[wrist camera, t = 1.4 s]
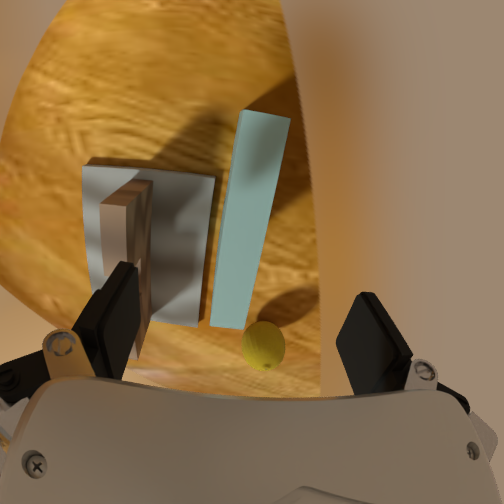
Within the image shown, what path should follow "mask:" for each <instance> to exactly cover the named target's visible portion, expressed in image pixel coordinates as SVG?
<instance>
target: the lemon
mask: <svg viewBox="0 0 504 504" xmlns="http://www.w3.org/2000/svg"><path fill="white" fill-rule="evenodd" d="M242 352H243V355H244V358H245V360H246V362H247V363H248V364H249V365H250V366H251V367H252V368H254V369H256V370H259V371H269V370H272V369H274V368H276V367H277V366H278V365H279V364H280V363H281V362H282V360H283V357H284V354H285V340H284V337H283V334H282V332H281V330H280V329H279V328H278V327H277V326H276V325H274V324H273V323H271V322H268V321H259V322H255V323H253V324H251V325H250V326H249V327H248V328H247V329H246V330H245V332H244V334H243V337H242Z"/></svg>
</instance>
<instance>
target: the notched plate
mask: <svg viewBox="0 0 504 504" xmlns="http://www.w3.org/2000/svg"><path fill="white" fill-rule="evenodd" d="M290 120H291V118H286V117H282V116H277V115H272V114H267V113H262V112H256V111H250V110H245V109H244V110H242V111H241V112H240V114H239V120H238V125H237V131H236V136H235V142H234V147H233V153H232V159H231V168H230V173H229V179H228V186H227V192H226V198H225V201H224V207H223V214H222V220H221V227H220V234H219V241H218V250H217V258H216V268H215V277H214V287H213V297H212V307H211V318H210V326H216V327H224V328H234V329H243V330H244V326H245V322H246V318H247V313H248V309H249V305H250V300H251V296H252V292H253V287H254V283H255V279H256V274H257V270H258V265H259V261H260V257H261V252H262V248H263V243H264V239H265V234H266V230H267V226H268V221H269V217H270V212H271V208H272V203H273V199H274V194H275V190H276V185H277V180H278V176H279V171H280V167H281V162H282V158H283V153H284V148H285V144H286V139H287V134H288V130H289V125H290Z"/></svg>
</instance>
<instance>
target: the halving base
mask: <svg viewBox="0 0 504 504" xmlns="http://www.w3.org/2000/svg"><path fill="white" fill-rule="evenodd" d="M215 178H216V176H210V175H203V174H195V173H187V172H178V171H169V170H159V169H149V168H137V167H125V166H110V165H92V164H86V165H84V166H82V199H83V219H84V233H85V243H86V253H87V261H88V269H89V275H90V282H91V288H92V294H94V292H95V291H96V290H97V289H101V288H102V287H103V285H104V284H105V282H106V281H107V279H108V278H109V276H110V275H111V273H112V272H113V270H114V269H115V267H116V266H117V264H118V263H119V262H120V261H125V262H131V263H134V267H138V275H139V297H140V312H141V323H140V327H139V330H138V333H137V335H136V338H135V341H134V344H133V347H132V349H131V352H130V355H129V359H134V360H138V358H139V355H140V351H141V348H142V345H143V341H144V338H145V335H146V332H147V329H148V326H149V323H150V320H152V321H158V322H164V323H170V324H177V325H184V326H191V327H198V320H199V309H200V298H201V288H202V279H203V269H204V260H205V252H206V243H207V235H208V228H209V220H210V212H211V205H212V198H213V191H214V184H215Z"/></svg>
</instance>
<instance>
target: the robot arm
mask: <svg viewBox="0 0 504 504" xmlns="http://www.w3.org/2000/svg"><path fill="white" fill-rule="evenodd" d="M140 323H141V312H140V297H139V275H138V267H134V263H131V262H125V261H120V262H119V263H118V264H117V266H116V267H115V269H114V270H113V272H112V273H111V275H110V276H109V278H108V279H107V281H106V282H105V284H104V285H103V287H102V288H101V289H97V290H96V291H95V292H94V294H93V295H92V297H91V298H90V300H89V301H88V303H87V305H86V306H85V308H84V309H83V311H82V313H81V314H80V316H79V318H78V319H77V321H76V322H75V324H74V326H73V328H72V329H71V330H69V329H57V330H54V331H52V332H50V333H49V334H48V335H47V336H46V337H45V338H44V340H43V343H42V348H43V349H42V350H40V351H37V352H34V353H31V354H29V355H26V356H23V357H20V358H17V359H15V360H12V361H9V362H6V363H4V364H2V365H0V504H502V501H501V498H500V494H499V490H498V487H497V484H496V481H495V478H494V474H493V471H492V469H491V466H490V463H489V462H490V460H491V458H492V456H493V453H494V451H495V449H496V446H497V443H498V438H497V435H496V433H495V432H494V431H493V430H492V429H491V428H490V427H489V426H488V425H487V424H486V423H485V422H484V421H483V420H482V419H480V418H479V417H478V416H477V415H476V414H475V413H474V412H473V411H472V412H471V413H469V412H470V406H469V403H468V401H467V399H466V398H465V397H464V396H462V395H460V394H458V393H457V392H455V391H453V390H451V389H450V388H448V387H446V386H444V385H443V384H441V383H439V382H437V380H438V373H437V370H436V369H435V367H434V366H433V365H432V364H431V363H429V362H428V361H426V360H423V359H415V360H414V361H411V357H412V356H413V353H412V351H411V350H410V348H409V346H408V345H407V343H406V341H405V340H404V338H403V337H402V335H401V333H400V332H399V330H398V329H397V327H396V325H395V324H394V322H393V321H392V319H391V318H390V316H389V315H388V313H387V311H386V310H385V308H384V307H383V305H382V304H381V302H380V301H379V299H378V298H377V296H376V295H375V294H374V293H372V292H361V293H360V294H359V295H357V296H356V298H355V300H354V302H353V305H352V307H351V309H350V311H349V313H348V315H347V318H346V320H345V322H344V324H343V326H342V328H341V330H340V332H339V335H338V336H337V339H336V346H337V349H338V352H339V354H340V357H341V359H342V362H343V365H344V367H345V370H346V373H347V376H348V378H349V381H350V384H351V387H352V389H353V392H354V395H350V396H335V397H311V398H269V397H246V396H230V395H218V394H208V393H199V392H190V391H183V390H176V389H169V388H162V387H155V386H149V385H144V384H139V383H133V382H128V381H122V380H121V379H122V376H123V373H124V370H125V367H126V364H127V361H128V358H129V355H130V352H131V349H132V347H133V344H134V341H135V338H136V335H137V333H138V330H139V327H140Z"/></svg>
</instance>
